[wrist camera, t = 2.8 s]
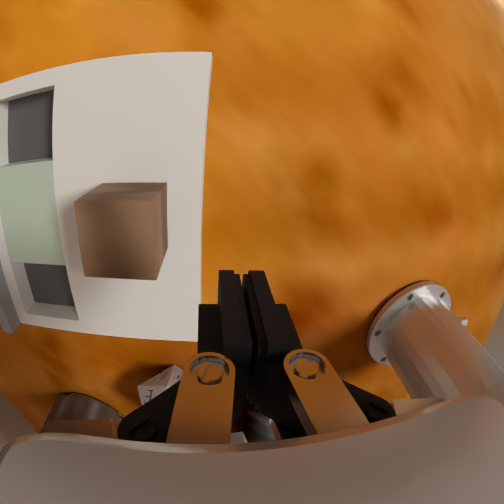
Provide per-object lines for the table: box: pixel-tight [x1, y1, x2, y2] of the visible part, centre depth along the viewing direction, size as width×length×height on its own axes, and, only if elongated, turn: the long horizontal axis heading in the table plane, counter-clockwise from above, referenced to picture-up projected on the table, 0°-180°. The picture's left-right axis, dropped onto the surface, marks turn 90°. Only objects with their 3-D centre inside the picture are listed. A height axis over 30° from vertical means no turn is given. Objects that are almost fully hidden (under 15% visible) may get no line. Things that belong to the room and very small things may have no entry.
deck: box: [0, 52, 212, 341], centre depth 20 cm, size 22×24×4 cm
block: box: [74, 182, 168, 280], centre depth 18 cm, size 5×5×5 cm
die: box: [137, 365, 183, 405], centre depth 28 cm, size 8×9×10 cm
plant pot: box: [43, 393, 123, 426], centre depth 27 cm, size 16×16×16 cm
